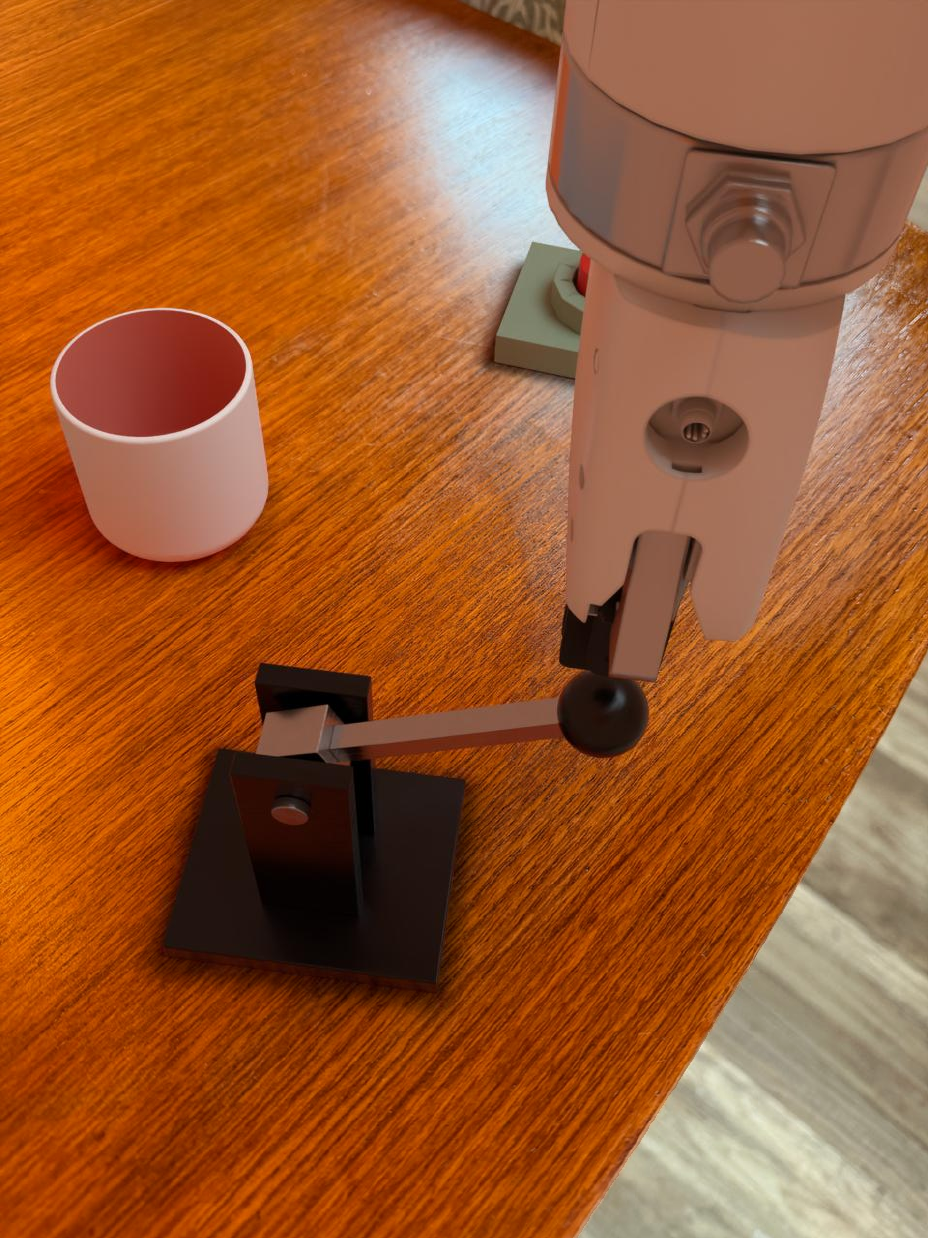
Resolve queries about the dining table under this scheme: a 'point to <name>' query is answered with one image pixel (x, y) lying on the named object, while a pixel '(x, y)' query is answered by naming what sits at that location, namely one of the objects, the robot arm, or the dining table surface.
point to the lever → (469, 726)
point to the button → (583, 274)
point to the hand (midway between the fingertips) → (608, 652)
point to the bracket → (319, 856)
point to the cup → (163, 431)
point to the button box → (543, 313)
